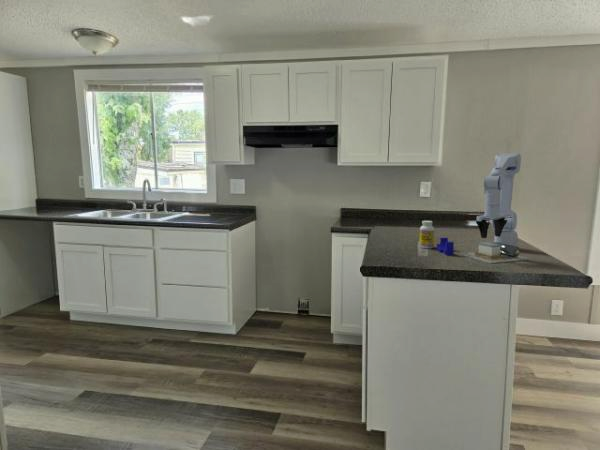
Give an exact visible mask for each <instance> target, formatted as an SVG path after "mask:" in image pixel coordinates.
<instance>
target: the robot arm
mask: <svg viewBox="0 0 600 450" xmlns="http://www.w3.org/2000/svg"><path fill="white" fill-rule="evenodd" d="M521 157H522V156H521V154H520V153H519V152H516V153H496V155H495V157H494V167H493V168H492V170H491V171H490V174H488V175H487V176H486V177H484V179H483V189H484V191H483V193H484V195H485V196H484V214H483V215H477V216H476V220H475V223H476V225H477V227H478V229H479V233H480V237H481V239H487V238H488V230H489V225H491V229H493V231H494V241H493V242H494V243H495V242H499V243H504V244H508V245H513V246H517V247H518V241H519V240H518V237H519V235H518V232H517V231H516V229H517V224H518V219H517V217H518V215H517V212H515V211H514V210H512V209H511V208H512V200H513V199H512V198H513V190H514V189H513V188H514V181H515V180H514V179H515V176H516V174H518V173H520V169H521V163H522V158H521ZM490 221H491V222H490Z"/></svg>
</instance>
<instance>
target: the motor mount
mask: <svg viewBox="0 0 600 450" xmlns="http://www.w3.org/2000/svg"><path fill="white" fill-rule="evenodd" d="M494 244H499V245H500V255H496V256H490V255H486V254H483V253H479V252H478V251H473V252H472V251H471V252H464V253H463V256H466V257H469V258H472V259H476V260H479V261H480V262H481V261H482V262H485V263H488V264H496V263H497V264H498V263H509V262H517V261H527V260H528V257H526V256H523V255H520V254H521V248H520V247H519V246H518V245H517V246H513V245H508V244H504V243H499V242H495V243H494Z"/></svg>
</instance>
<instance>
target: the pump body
mask: <svg viewBox="0 0 600 450" xmlns="http://www.w3.org/2000/svg"><path fill="white" fill-rule="evenodd" d="M477 252H479V253H483V254H486V255H490V256H496V255H500V245H499V244H494V243H493V242H488V241H484V242H478V251H477Z"/></svg>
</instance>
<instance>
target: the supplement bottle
mask: <svg viewBox="0 0 600 450" xmlns="http://www.w3.org/2000/svg"><path fill="white" fill-rule="evenodd" d="M421 224H422V225H421V226H420V228H419V245H418V246H419V247H420V248H421V249H433V248H434V245H435V244H434V243H435V227H434V226H433V220H422V221H421Z"/></svg>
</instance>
